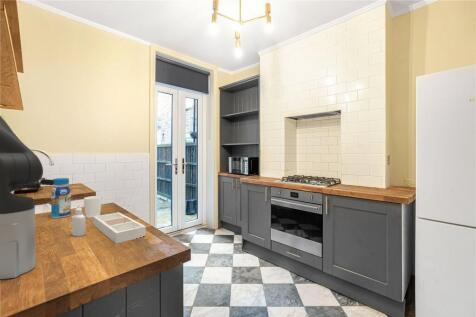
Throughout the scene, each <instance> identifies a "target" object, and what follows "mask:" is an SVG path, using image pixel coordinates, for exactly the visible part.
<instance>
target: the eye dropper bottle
mask: <svg viewBox="0 0 476 317" xmlns="http://www.w3.org/2000/svg"><path fill="white" fill-rule="evenodd" d="M86 228H87V227H86V217H85V214H83V208H82V207H80V205H77V206H76V208H75V209H74V215H72V216H71V235H72V236H73V237H83V236H85V235H86V230H87V229H86Z"/></svg>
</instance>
